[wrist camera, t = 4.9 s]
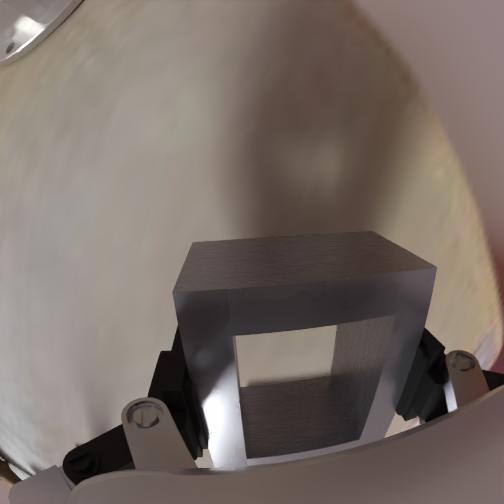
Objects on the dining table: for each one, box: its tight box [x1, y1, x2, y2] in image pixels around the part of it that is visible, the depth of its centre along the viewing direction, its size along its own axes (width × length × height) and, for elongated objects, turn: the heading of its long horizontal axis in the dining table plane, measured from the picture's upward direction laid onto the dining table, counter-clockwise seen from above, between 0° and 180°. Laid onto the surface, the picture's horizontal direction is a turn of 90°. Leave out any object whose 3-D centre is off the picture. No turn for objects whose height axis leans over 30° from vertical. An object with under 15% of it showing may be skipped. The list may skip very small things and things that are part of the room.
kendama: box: [0, 459, 22, 485], centre depth 20 cm, size 6×10×20 cm
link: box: [173, 231, 437, 468], centre depth 9 cm, size 8×7×4 cm
